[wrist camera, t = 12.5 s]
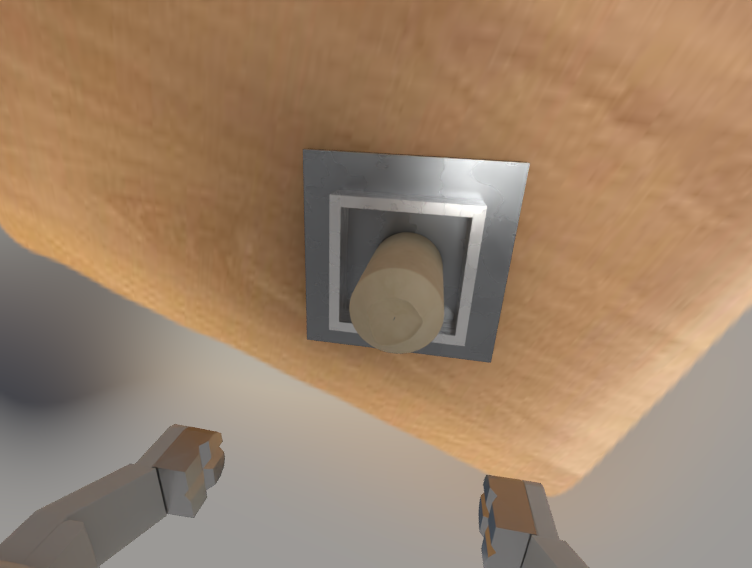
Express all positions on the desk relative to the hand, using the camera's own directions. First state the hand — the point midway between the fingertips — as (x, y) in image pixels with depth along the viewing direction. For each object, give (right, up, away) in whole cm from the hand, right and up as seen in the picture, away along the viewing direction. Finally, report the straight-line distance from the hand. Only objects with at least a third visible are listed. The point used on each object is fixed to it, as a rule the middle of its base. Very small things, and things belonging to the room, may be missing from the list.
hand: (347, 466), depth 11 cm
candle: (+3, +7, +18) cm, 20 cm away
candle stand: (+3, +8, +19) cm, 21 cm away
